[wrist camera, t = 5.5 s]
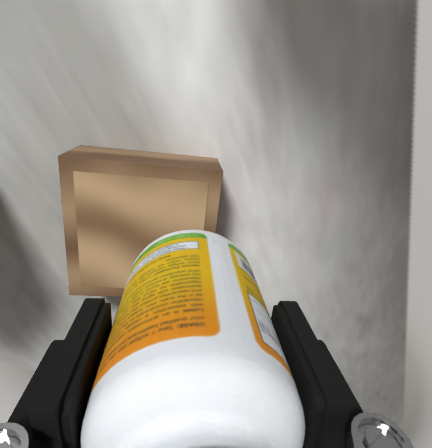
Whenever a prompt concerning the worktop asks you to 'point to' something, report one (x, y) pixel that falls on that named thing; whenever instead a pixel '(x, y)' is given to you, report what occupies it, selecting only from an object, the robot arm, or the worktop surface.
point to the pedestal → (129, 209)
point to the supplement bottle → (193, 356)
